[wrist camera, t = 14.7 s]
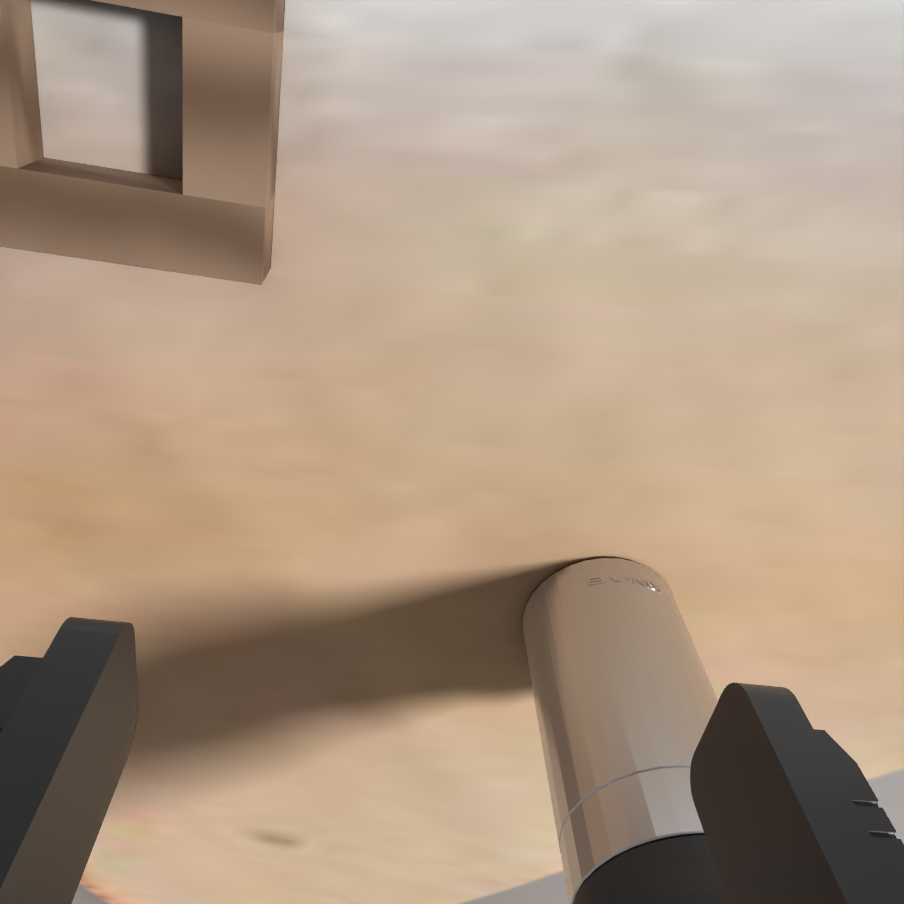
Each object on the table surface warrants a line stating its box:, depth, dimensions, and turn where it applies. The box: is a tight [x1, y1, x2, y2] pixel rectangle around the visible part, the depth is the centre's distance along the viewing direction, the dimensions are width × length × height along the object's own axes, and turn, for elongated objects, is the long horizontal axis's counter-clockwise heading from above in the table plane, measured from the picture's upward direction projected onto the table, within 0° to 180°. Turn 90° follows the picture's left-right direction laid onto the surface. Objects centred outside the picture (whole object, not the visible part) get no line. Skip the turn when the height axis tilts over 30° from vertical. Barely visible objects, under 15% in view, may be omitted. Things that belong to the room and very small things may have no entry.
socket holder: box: [0, 0, 285, 285], centre depth 31 cm, size 13×13×2 cm
